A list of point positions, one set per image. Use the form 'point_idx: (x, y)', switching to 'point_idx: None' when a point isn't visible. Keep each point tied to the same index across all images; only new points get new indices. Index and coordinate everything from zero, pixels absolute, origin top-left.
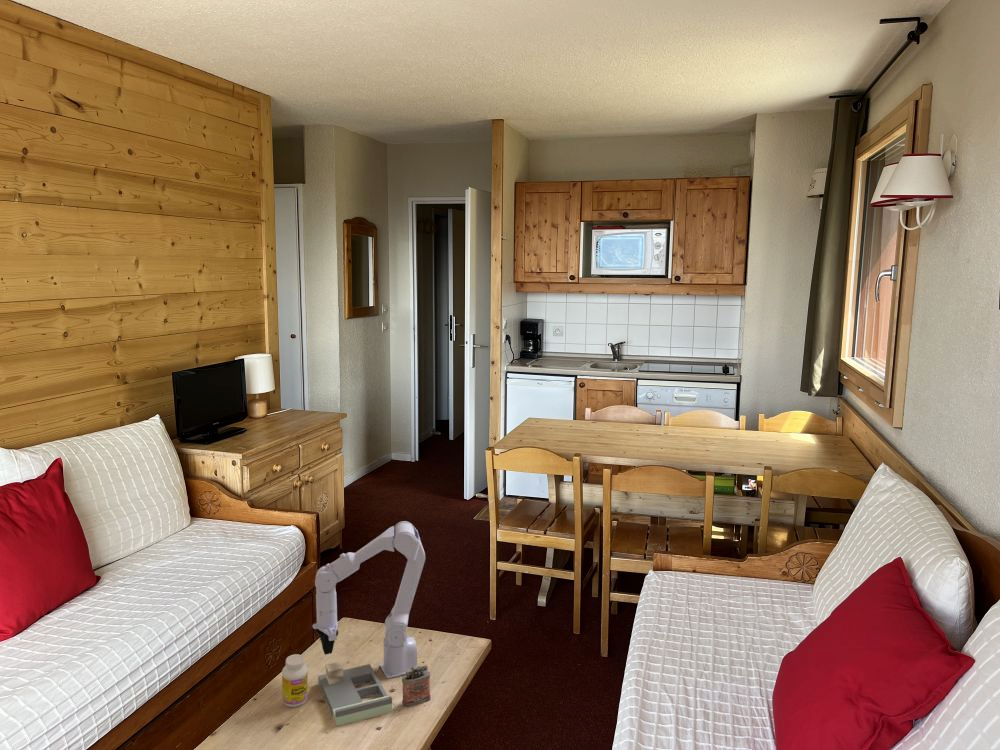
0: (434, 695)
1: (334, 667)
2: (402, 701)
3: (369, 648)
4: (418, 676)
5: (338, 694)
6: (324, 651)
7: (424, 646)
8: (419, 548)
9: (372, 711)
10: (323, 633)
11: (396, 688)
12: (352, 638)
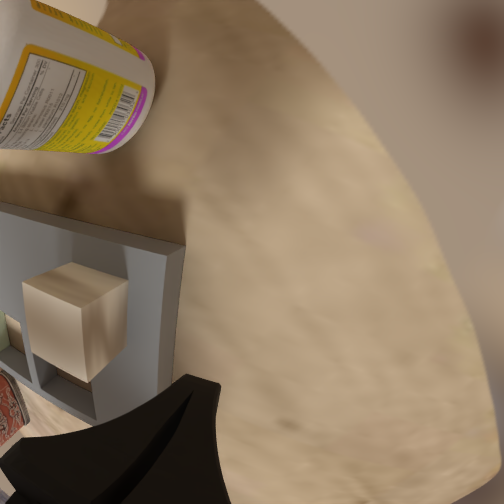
0: (30, 429)
1: (42, 328)
2: (4, 376)
3: (321, 491)
4: None
5: (15, 259)
6: (171, 386)
7: None
8: None
9: None
10: (36, 501)
11: (62, 413)
12: (422, 473)
